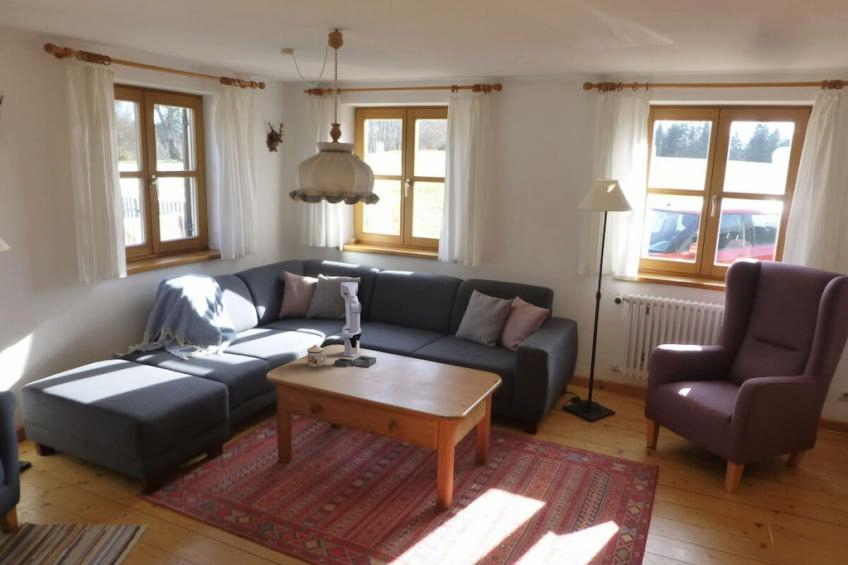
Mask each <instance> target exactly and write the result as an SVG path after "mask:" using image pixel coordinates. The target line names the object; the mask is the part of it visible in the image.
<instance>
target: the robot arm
mask: <svg viewBox="0 0 848 565" xmlns="http://www.w3.org/2000/svg"><path fill="white" fill-rule="evenodd" d="M358 285H359V284H358V282H357V281H355V282H354V281H352V282H349V281H348V282H347V281H346V282H343V281H341V283H340V295H341V297H342V298H343V299H344V303H345V304H344V307H345V323H346V324H344V326H342V328H341V338H342V340H343V341H344V353H342V354H341V356H343V357H349V358H350V357H351V358H354V357H356V356H359V354H361V352H360V351H359V353H358V354H353V353H350V342H351V346H352V348H356V342H357V341H359V342H360V339H361V337H362V333H361V332H362V328H361V312H362V305H361V302H359V298H358V296H357V294H358V288H359V287H358Z"/></svg>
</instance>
